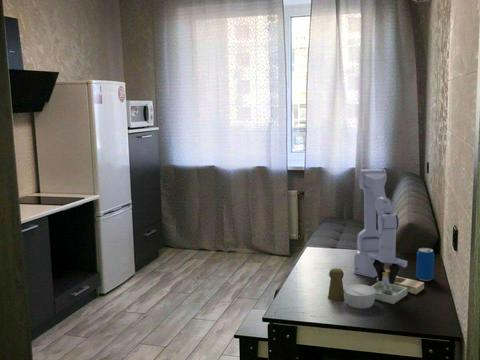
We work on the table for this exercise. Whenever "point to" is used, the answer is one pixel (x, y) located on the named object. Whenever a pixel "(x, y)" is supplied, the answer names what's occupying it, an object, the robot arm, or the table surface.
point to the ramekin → (359, 296)
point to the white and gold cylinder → (386, 283)
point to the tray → (396, 296)
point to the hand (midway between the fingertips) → (386, 281)
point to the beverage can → (425, 264)
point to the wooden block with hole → (408, 284)
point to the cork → (336, 285)
